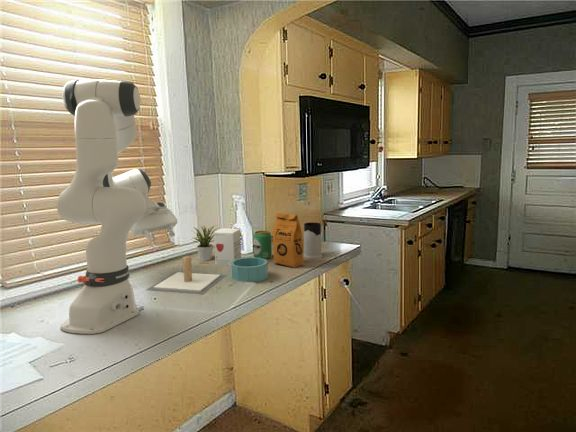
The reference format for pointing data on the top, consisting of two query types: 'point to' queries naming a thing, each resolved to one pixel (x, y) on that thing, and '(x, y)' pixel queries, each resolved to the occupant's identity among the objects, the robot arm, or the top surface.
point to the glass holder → (312, 240)
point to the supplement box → (227, 246)
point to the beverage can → (262, 245)
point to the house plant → (204, 244)
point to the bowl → (249, 269)
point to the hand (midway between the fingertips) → (163, 238)
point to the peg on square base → (187, 279)
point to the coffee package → (287, 241)
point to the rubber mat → (187, 291)
